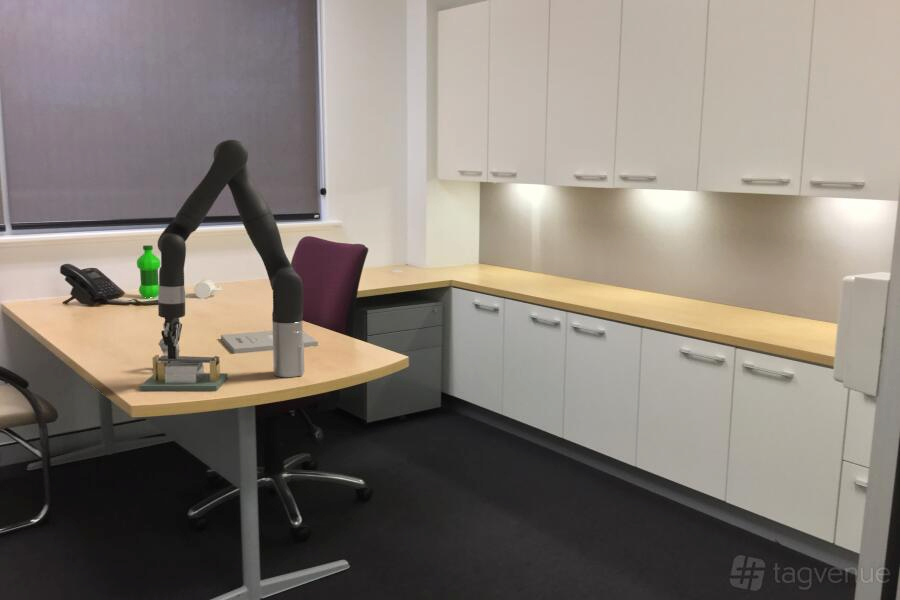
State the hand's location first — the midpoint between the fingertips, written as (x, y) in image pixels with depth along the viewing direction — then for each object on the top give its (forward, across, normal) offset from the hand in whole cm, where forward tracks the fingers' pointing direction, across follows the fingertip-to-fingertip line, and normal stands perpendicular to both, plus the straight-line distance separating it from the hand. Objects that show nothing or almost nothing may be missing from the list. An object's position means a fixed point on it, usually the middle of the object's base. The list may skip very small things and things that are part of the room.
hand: (172, 357), depth 240 cm
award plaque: (+8, +56, -19) cm, 60 cm away
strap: (+1, 0, -5) cm, 5 cm away
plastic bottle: (+9, +150, +54) cm, 160 cm away
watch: (+8, +17, +5) cm, 20 cm away
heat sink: (+7, 0, -4) cm, 8 cm away
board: (+8, 0, -4) cm, 9 cm away
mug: (+8, +154, +27) cm, 157 cm away
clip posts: (+7, 0, -4) cm, 8 cm away
